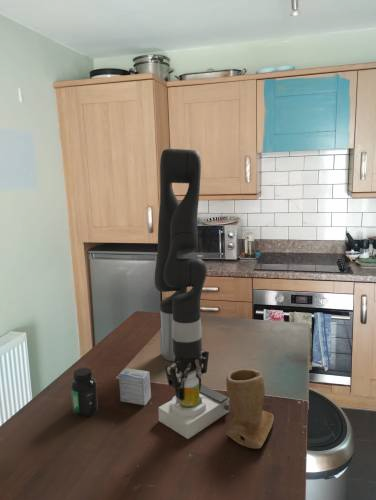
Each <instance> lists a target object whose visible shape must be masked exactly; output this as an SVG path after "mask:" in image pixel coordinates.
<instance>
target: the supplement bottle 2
mask: <svg viewBox="0 0 376 500" xmlns="http://www.w3.org/2000/svg"><path fill="white" fill-rule="evenodd" d="M180 374H182V375H183V373H181V372H180ZM180 380H181V379H179V382H180ZM183 387H184V400H182V401H181V400H179V405H180V407H182V408H196V407H197V406H199V379H198V378H197V377H196V370H194V371H191V372H190V373H188V377H187V379H186V380H185V382H184V386H183Z"/></svg>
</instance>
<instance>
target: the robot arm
mask: <svg viewBox="0 0 376 500" xmlns="http://www.w3.org/2000/svg"><path fill="white" fill-rule="evenodd" d="M201 161H202V159H201V156H200V153H199V151H197V150H194V149H185V148H165V149H163V151H162V153H161V155H160V162H159V180H160V181H159V183H160V184H159V185H160V186H159V187H160V188H159V189H160V195H159V196H160V197H159V198H160V199H159V200H160V201H159V213H158V223H157V225H158V227H157V253H156V260H155V261H156V262H155V268H154V287H155V288H156V290H157V291H158V292H162V293H167V292H168V293H169V292H173V293H172V294H171V295H169V296H168V297H166V298H164V299H162V300H161V301H160V306H159V307H160V308H159V309H160V324H161V325H160V327H161V328H160V329H159V343H160V355H162V358H163V359H164V360H165V361H166V360H167V361H170V362H173V363H172V364H171V365H166V366H165V369H164V370H165V375H166V379H167V384H168V386H170V387H172V388H174V390H175V396H176V397H177V398H178V399H179V400H181V401H182V400H184V387H183V386H184V382H185V380H186V379H187V377H188V373H190V372H191V371H194V370H196V377H197V378H198V379H199V391H200V388H201V384H202V377H203V374H206V373H207V371H208V366H209V365H208V364H209V354H210V352H209V351H207V350H204V349H203V337H202V335H203V332H202V329H203V327H202V322H201V320H202V319H201V297H202V292H203V288H204V285H205V281H206V278H207V272H208V270H207V269H208V268H207V265H206V263H205V261H204V260H202V258H198V257H197V258H196V257H195V258H193V257H191V258H189V257H188V258H181V257H182V256H185V255H187V254H191V253H194V252H195V251H196V250H197V249H198V246H199V237H198V236H199V233H198V232H199V230H198V210H199V203H200V202H199V201H200V187H201V173H202V172H201V171H202V165H201V164H202V162H201ZM172 184H188V188H187V191H186V193H185V195H184V197H183V199H182V200H181V201H179V199H178V198H177V196H176V194H175V192H174V190H173V187H172ZM188 288H191V289H190V290H188ZM202 365H203V366H202ZM181 373H183V375H182V374H181ZM179 379H181V380H180V382H179Z"/></svg>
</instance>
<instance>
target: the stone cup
mask: <svg viewBox="0 0 376 500" xmlns="http://www.w3.org/2000/svg"><path fill="white" fill-rule="evenodd" d="M225 385H226V393H227V397H228V398H229V402H230V404H231V406H232V407H231V408H232V409H233V413H234V417H233V419H232V421H231V423H230V424H229V427H228V430H226V435H227V436H228V437H229V438H231V439H232V440H233V441H234V442H236V443H237V444H239V445H241V446H244V447H246V448H248V449H252V450H253V449H255V450H257V449H261V448H262V447H263V445H264V443H265V441H266V439H267V438H268V435H269V433H270V432H271V429H272V427H273V424H274V420H275V419H274V418H275V417H274V414H273V413H271V412H269V411H266V410H263V407H264V406H263V405H264V400H265V394H266V393H265V392H266V391H265V381H264V377H263V375H262V373H261V372H260V371H259V370H256V369H253V368H239V369H235V370H233V371H231V372H230V373H228V374H227V376H226V383H225Z"/></svg>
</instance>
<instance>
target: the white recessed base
mask: <svg viewBox="0 0 376 500" xmlns="http://www.w3.org/2000/svg"><path fill="white" fill-rule="evenodd" d="M157 409H158V421H159V422H160V423H162V424H163V425H164V426H166V427H168V428H170V429H171V430H173V431H174V432H176V433H177V434H178V435H181V436H182V437H184V438H186V439H187V440H189V439H190V438H193V436H195V435H197V434H199V432H201V431H203V430H204V429H205V428H207V427H208V426H210V425H211V424H213V423H214V422H216V421H218V420H219V419H221V418H222V417H223V416H225V415H226V414H228V413H229V412H230V409H231V405H230V399H229V396H228V395H227V396H226V395H225V394H223V393H220V392H219V391H216V390H214V389H212V388H210V387H208V386H206V385H204V384H202V383H201V388H200V391H199V406H197V407H196V408H182V407H180V405H179V399H178V398H177V397H176V395H174V396H173V397H172V399H171V400H170V401H167V402H166V403H164V404H161V405H160V406H158V408H157Z"/></svg>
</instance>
